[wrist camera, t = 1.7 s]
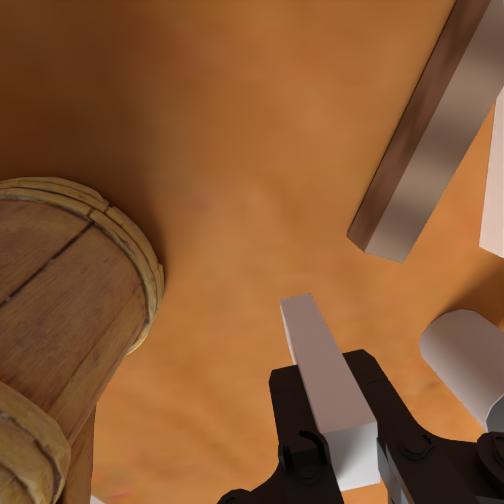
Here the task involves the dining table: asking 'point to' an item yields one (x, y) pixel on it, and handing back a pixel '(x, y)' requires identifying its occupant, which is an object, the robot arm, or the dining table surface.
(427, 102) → the folding leg
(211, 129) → the dining table surface
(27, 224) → the tankard
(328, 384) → the robot arm
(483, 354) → the cup
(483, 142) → the dining table surface
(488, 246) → the white rectangular box
